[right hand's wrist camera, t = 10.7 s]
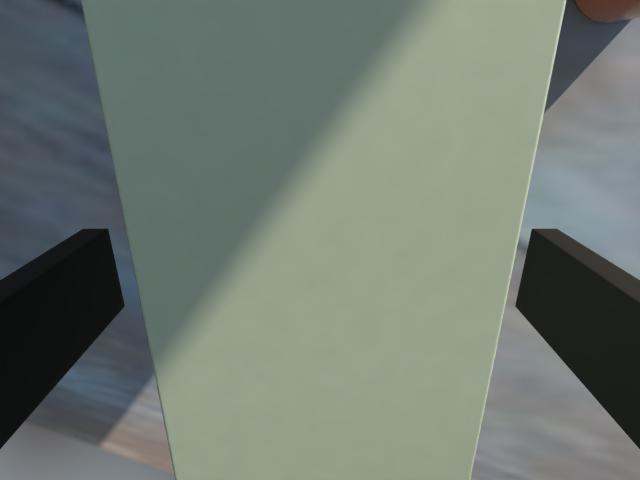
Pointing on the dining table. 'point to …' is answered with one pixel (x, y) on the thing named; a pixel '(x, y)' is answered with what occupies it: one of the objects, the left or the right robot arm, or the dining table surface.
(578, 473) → the dining table surface
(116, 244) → the dining table surface
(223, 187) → the beam
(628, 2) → the orange cylinder puck
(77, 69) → the dining table surface
